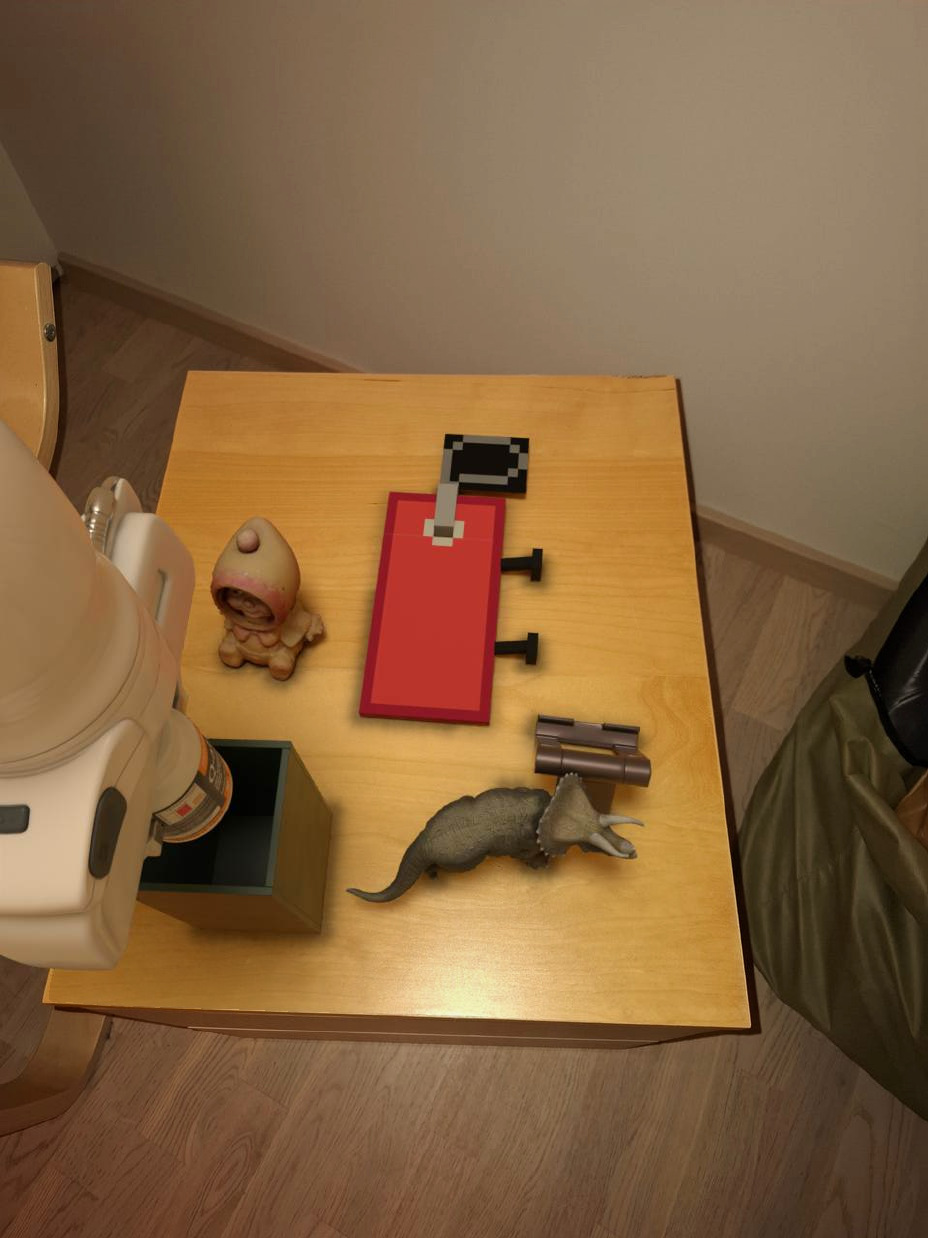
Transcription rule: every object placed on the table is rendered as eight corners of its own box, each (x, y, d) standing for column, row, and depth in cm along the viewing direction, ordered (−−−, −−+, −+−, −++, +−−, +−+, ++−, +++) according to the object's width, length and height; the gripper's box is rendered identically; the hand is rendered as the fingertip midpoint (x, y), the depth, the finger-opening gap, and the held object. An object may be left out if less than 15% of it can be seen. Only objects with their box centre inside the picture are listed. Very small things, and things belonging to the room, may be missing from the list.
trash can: (332, 813, 74) (290, 740, 57) (320, 934, 70) (271, 895, 53) (218, 809, 75) (142, 735, 57) (200, 930, 71) (111, 890, 53)
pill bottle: (255, 791, 51) (210, 736, 42) (176, 866, 49) (112, 825, 40) (191, 726, 53) (135, 660, 44) (113, 797, 51) (37, 743, 42)
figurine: (202, 668, 80) (168, 553, 69) (233, 605, 85) (207, 488, 73) (309, 690, 79) (292, 578, 68) (335, 626, 84) (323, 511, 72)
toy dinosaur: (352, 913, 71) (333, 890, 61) (346, 807, 75) (327, 770, 65) (626, 881, 72) (651, 854, 62) (607, 779, 76) (628, 737, 66)
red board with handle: (547, 444, 90) (399, 436, 91) (549, 427, 88) (397, 419, 88) (532, 730, 78) (360, 718, 78) (533, 719, 75) (356, 707, 76)
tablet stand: (638, 733, 77) (656, 699, 70) (633, 824, 74) (652, 798, 66) (536, 721, 78) (543, 685, 70) (527, 810, 75) (533, 783, 67)
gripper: (35, 453, 39) (139, 597, 52) (-111, 947, 31) (56, 977, 43) (178, 457, 39) (247, 600, 52) (73, 954, 30) (187, 982, 43)
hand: (160, 774), depth 47 cm, fingers closed on pill bottle, 6 cm apart
